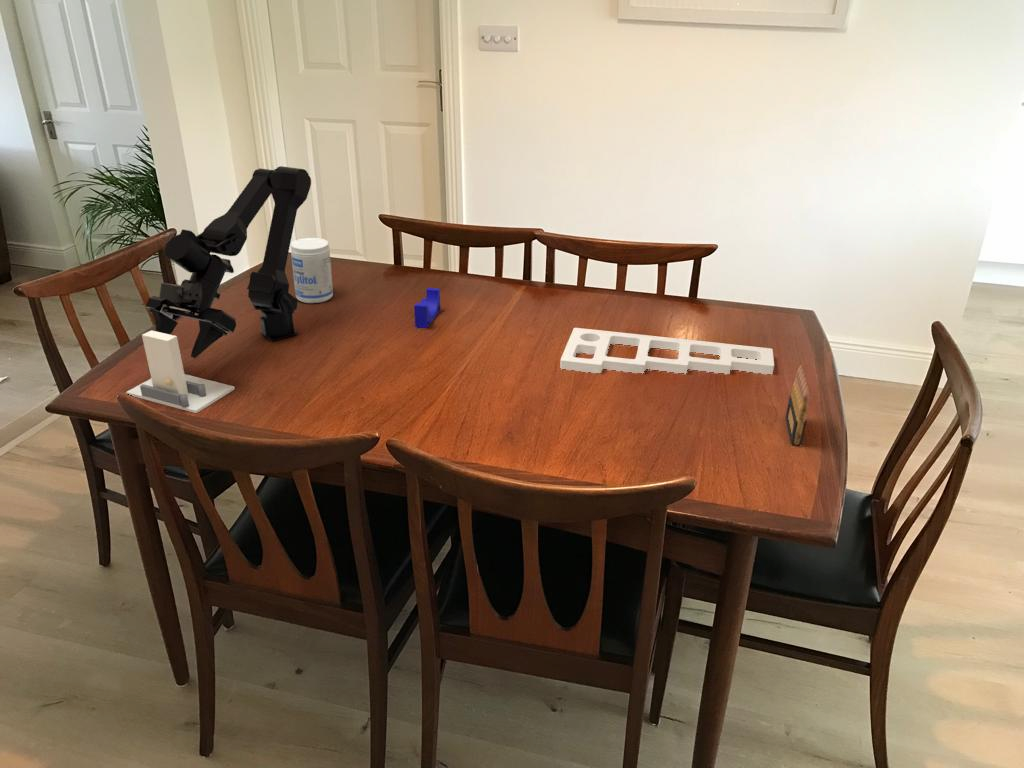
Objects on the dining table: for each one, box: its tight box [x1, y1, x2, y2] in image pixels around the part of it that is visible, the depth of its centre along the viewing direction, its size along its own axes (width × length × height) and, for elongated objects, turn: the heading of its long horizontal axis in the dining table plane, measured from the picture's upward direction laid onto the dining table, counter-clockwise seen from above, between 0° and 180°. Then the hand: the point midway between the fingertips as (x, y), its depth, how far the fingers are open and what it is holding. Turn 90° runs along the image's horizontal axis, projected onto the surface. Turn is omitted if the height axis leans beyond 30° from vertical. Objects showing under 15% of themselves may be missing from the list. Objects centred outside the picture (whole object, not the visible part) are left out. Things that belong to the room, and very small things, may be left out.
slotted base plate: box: [125, 373, 235, 414], centre depth 165 cm, size 11×18×3 cm, turn 66°
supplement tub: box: [290, 237, 334, 304], centre depth 208 cm, size 10×10×15 cm
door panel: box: [141, 330, 188, 396], centre depth 160 cm, size 4×6×13 cm, turn 66°
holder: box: [559, 327, 775, 376], centre depth 180 cm, size 45×18×3 cm, turn 77°
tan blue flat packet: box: [785, 364, 810, 446], centre depth 152 cm, size 11×2×12 cm, turn 169°
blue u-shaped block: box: [413, 287, 441, 329], centre depth 199 cm, size 12×4×6 cm, turn 169°
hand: (174, 353), depth 162 cm, fingers open, 9 cm apart
